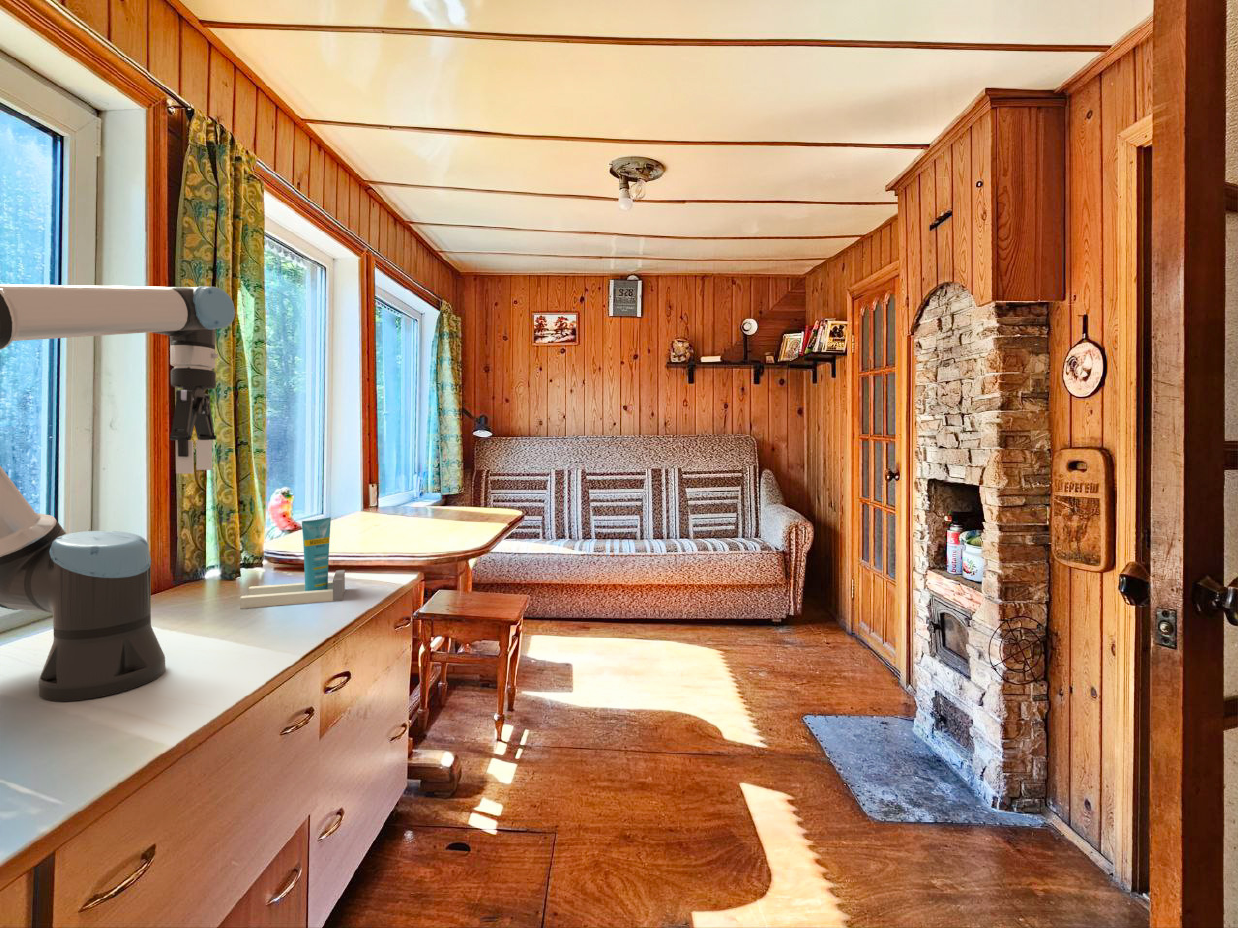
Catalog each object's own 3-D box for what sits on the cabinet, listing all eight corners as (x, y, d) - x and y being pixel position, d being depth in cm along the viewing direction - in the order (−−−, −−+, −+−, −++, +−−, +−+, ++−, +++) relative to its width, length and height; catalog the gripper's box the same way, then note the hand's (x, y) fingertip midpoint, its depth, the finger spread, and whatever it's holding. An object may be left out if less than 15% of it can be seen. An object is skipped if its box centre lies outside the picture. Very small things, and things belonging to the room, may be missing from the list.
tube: (310, 601, 140) (309, 521, 139) (296, 599, 142) (295, 520, 141) (336, 594, 146) (336, 517, 146) (322, 591, 148) (322, 516, 148)
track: (342, 600, 141) (342, 579, 141) (240, 608, 133) (239, 586, 133) (344, 589, 151) (344, 569, 151) (250, 596, 144) (250, 576, 143)
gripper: (197, 363, 111) (199, 475, 112) (229, 375, 134) (230, 468, 135) (148, 360, 108) (151, 475, 109) (190, 373, 131) (191, 468, 132)
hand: (195, 471), depth 122 cm, fingers open, 13 cm apart
